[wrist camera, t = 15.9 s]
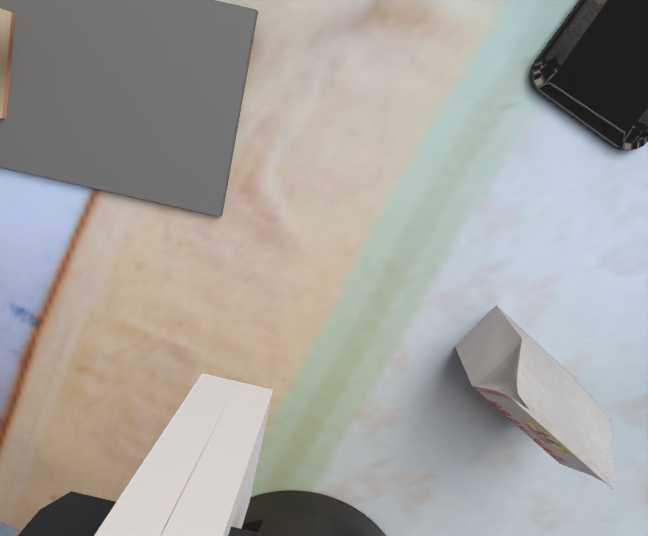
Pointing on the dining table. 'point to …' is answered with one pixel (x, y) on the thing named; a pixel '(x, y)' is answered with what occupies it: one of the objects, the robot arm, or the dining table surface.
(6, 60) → the cube
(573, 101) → the phone
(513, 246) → the dining table surface
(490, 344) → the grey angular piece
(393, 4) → the dining table surface
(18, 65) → the mat
